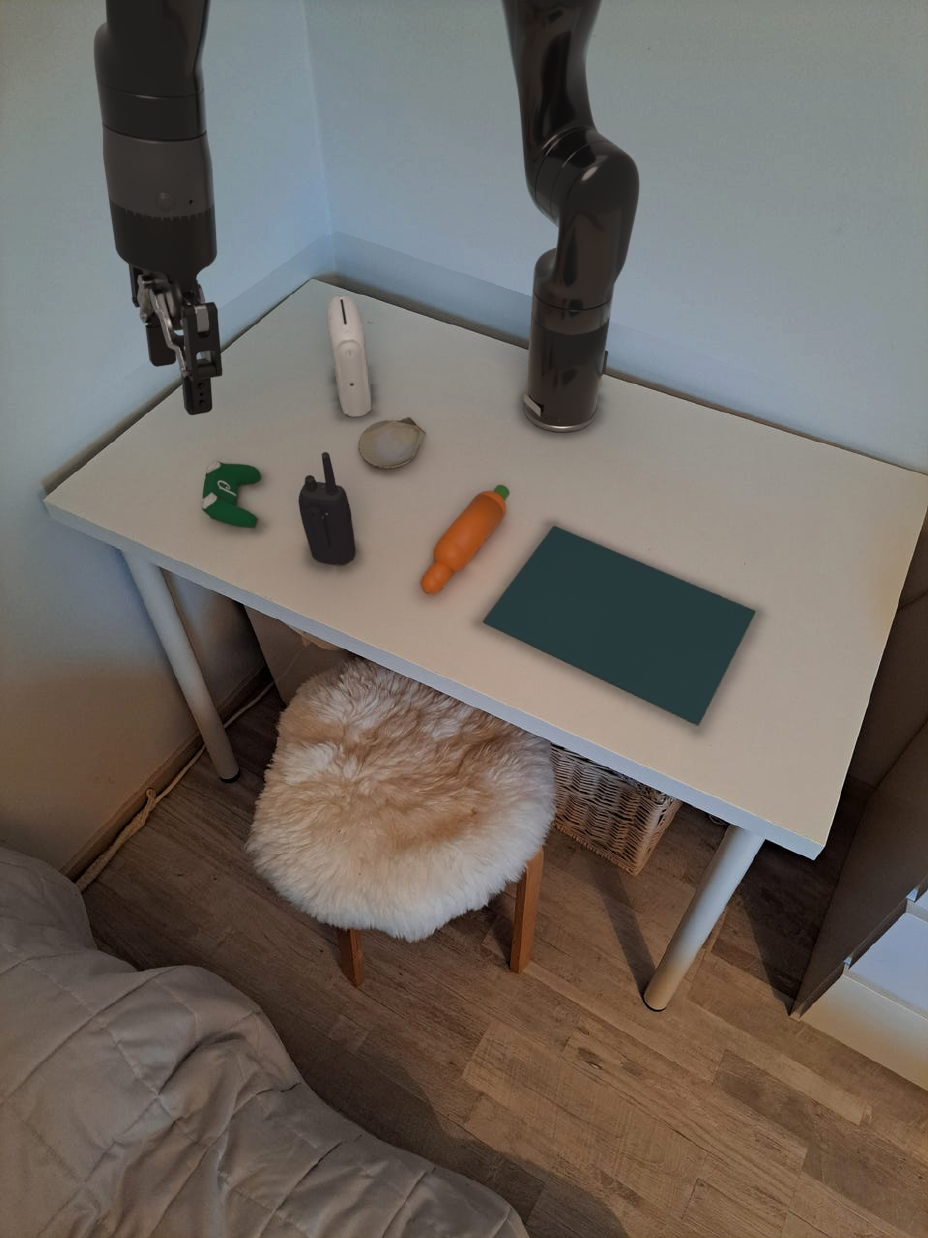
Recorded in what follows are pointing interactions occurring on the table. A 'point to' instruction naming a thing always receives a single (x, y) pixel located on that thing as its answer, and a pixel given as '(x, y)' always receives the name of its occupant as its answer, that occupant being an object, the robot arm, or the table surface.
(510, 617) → the cloth
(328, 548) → the two-way radio
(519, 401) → the table surface
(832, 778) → the table surface
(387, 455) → the seashell
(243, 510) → the gaming controller
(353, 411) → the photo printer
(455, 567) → the carrot
